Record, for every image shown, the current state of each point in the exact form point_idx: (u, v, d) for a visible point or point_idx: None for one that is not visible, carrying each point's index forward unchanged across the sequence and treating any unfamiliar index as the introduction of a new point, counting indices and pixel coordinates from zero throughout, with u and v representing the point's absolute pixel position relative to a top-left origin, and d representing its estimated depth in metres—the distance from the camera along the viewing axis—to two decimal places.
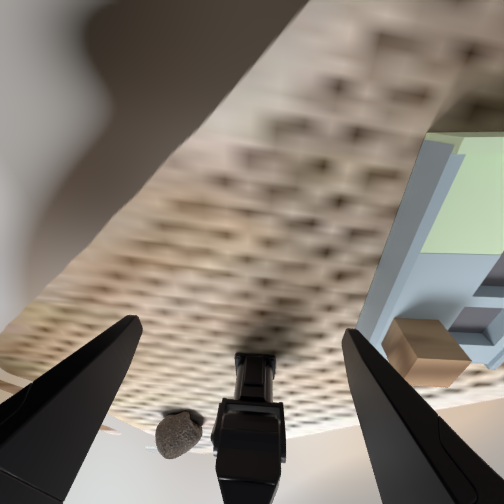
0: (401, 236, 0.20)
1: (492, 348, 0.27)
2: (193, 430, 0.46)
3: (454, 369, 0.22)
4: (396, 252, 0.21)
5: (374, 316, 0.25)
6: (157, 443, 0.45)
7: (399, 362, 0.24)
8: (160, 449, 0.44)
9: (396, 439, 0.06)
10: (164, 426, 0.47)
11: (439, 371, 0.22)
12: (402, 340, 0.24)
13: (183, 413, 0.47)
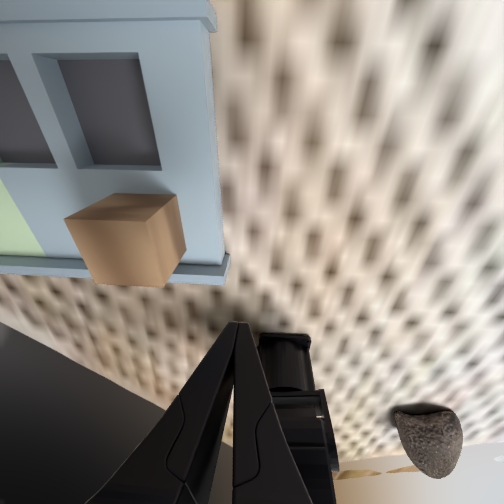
0: None
1: (145, 50, 0.12)
2: (421, 428, 0.33)
3: (94, 233, 0.13)
4: None
5: None
6: None
7: None
8: None
9: None
10: (402, 442, 0.36)
11: (109, 251, 0.14)
12: None
13: (395, 417, 0.36)
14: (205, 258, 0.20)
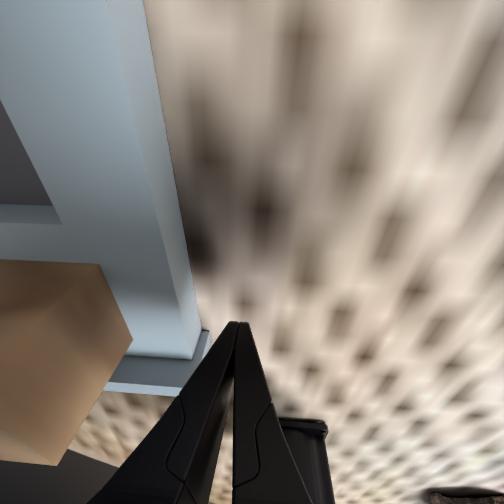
0: None
1: None
2: None
3: None
4: None
5: None
6: None
7: None
8: None
9: None
10: None
11: None
12: None
13: (431, 500, 0.28)
14: (165, 351, 0.12)
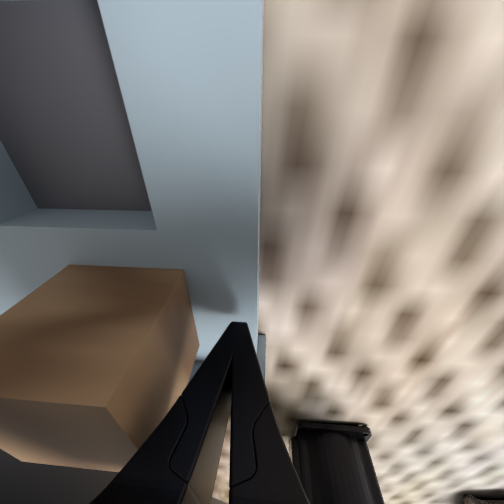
0: None
1: None
2: None
3: None
4: None
5: None
6: None
7: None
8: None
9: None
10: None
11: (33, 434, 0.06)
12: None
13: (465, 502, 0.28)
14: None
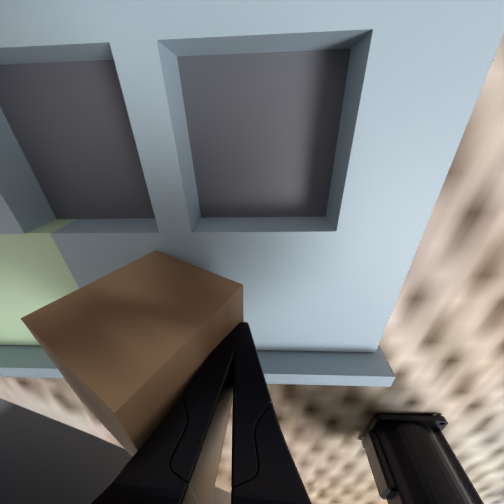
0: None
1: (390, 25, 0.06)
2: None
3: (56, 360, 0.07)
4: None
5: None
6: None
7: None
8: None
9: None
10: None
11: (81, 392, 0.07)
12: None
13: None
14: (355, 344, 0.13)
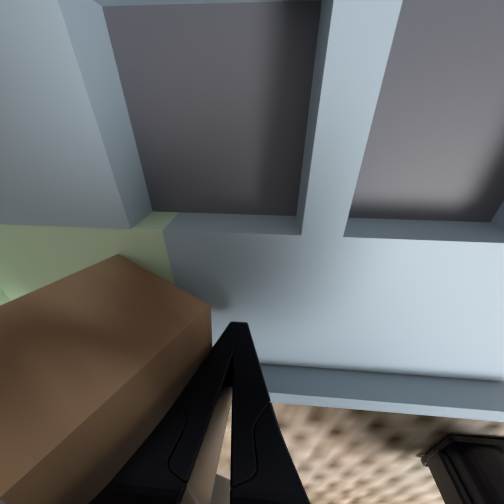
0: None
1: None
2: None
3: None
4: None
5: None
6: None
7: None
8: None
9: None
10: None
11: None
12: None
13: None
14: (484, 372, 0.11)
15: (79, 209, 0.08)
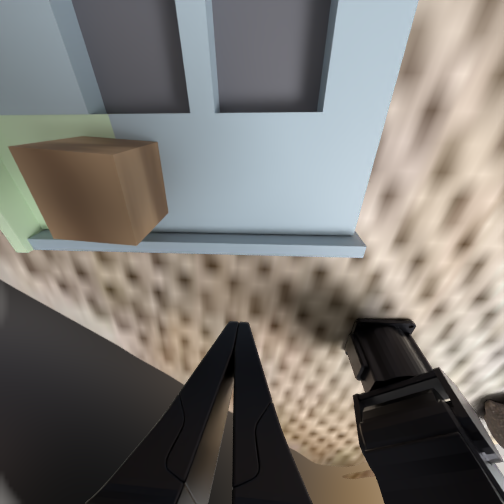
0: None
1: None
2: None
3: (48, 169, 0.11)
4: None
5: None
6: None
7: None
8: None
9: None
10: (494, 434, 0.33)
11: (69, 194, 0.11)
12: None
13: (486, 406, 0.33)
14: (337, 227, 0.17)
15: (56, 100, 0.13)
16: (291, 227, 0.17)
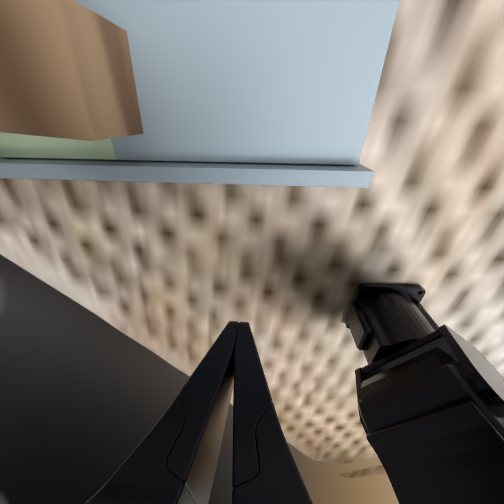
0: None
1: None
2: None
3: None
4: None
5: None
6: None
7: None
8: None
9: None
10: None
11: (1, 57, 0.09)
12: None
13: None
14: (339, 153, 0.15)
15: None
16: (286, 153, 0.15)
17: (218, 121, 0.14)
